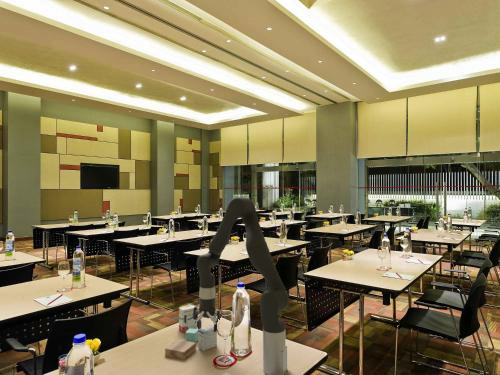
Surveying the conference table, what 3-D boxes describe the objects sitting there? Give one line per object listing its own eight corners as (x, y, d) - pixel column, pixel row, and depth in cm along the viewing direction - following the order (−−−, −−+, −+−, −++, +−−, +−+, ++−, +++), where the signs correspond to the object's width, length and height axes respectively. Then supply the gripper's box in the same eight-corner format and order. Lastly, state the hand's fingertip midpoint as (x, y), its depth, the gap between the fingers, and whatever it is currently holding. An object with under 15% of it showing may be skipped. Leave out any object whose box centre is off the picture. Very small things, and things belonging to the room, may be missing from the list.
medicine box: (211, 343, 174) (211, 325, 174) (217, 346, 171) (217, 327, 171) (198, 348, 169) (197, 330, 168) (203, 351, 165) (203, 332, 165)
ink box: (182, 332, 187) (182, 309, 187) (178, 329, 191) (178, 307, 191) (197, 328, 191) (197, 306, 191) (193, 325, 196) (193, 304, 195)
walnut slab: (195, 350, 168) (195, 342, 167) (184, 360, 158) (184, 352, 158) (177, 346, 171) (177, 339, 171) (165, 356, 162) (165, 348, 162)
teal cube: (198, 339, 179) (198, 329, 179) (195, 343, 174) (195, 333, 174) (189, 338, 180) (189, 328, 180) (185, 342, 175) (185, 332, 175)
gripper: (224, 295, 170) (224, 329, 171) (198, 291, 176) (198, 324, 176) (217, 300, 164) (217, 335, 164) (190, 296, 169) (190, 330, 169)
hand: (207, 330), depth 170 cm, fingers open, 8 cm apart
